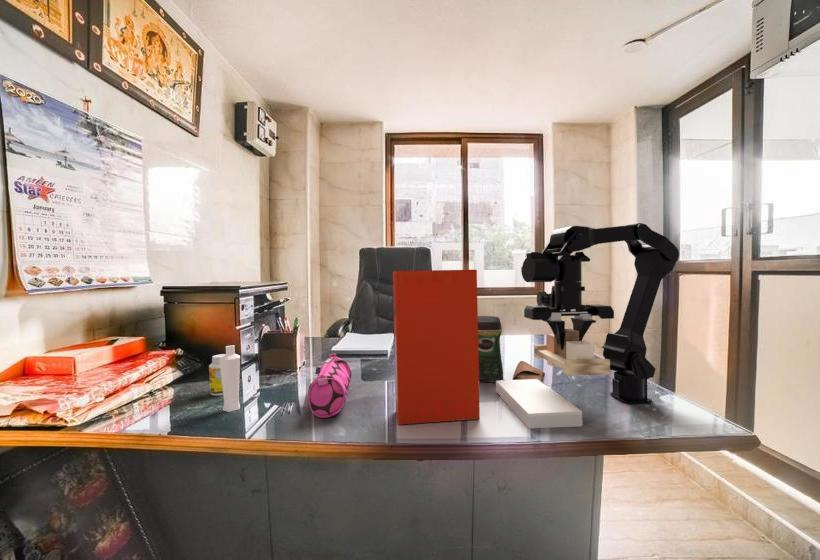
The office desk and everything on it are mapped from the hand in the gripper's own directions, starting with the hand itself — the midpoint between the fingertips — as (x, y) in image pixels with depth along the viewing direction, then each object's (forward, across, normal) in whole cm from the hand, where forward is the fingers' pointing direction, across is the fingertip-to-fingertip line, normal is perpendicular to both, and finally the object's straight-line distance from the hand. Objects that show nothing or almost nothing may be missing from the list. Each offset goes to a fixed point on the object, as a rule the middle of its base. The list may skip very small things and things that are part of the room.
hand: (568, 349), depth 81 cm
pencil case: (+14, +56, -9) cm, 58 cm away
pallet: (+4, 0, 0) cm, 4 cm away
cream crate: (+2, 0, +5) cm, 5 cm away
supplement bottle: (+14, +87, -19) cm, 90 cm away
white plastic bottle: (+14, +79, -7) cm, 81 cm away
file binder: (+14, +31, +2) cm, 34 cm away
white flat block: (+13, +8, 0) cm, 15 cm away
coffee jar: (+14, +13, -23) cm, 30 cm away
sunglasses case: (+14, +1, -21) cm, 25 cm away
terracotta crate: (+2, 0, -5) cm, 5 cm away
